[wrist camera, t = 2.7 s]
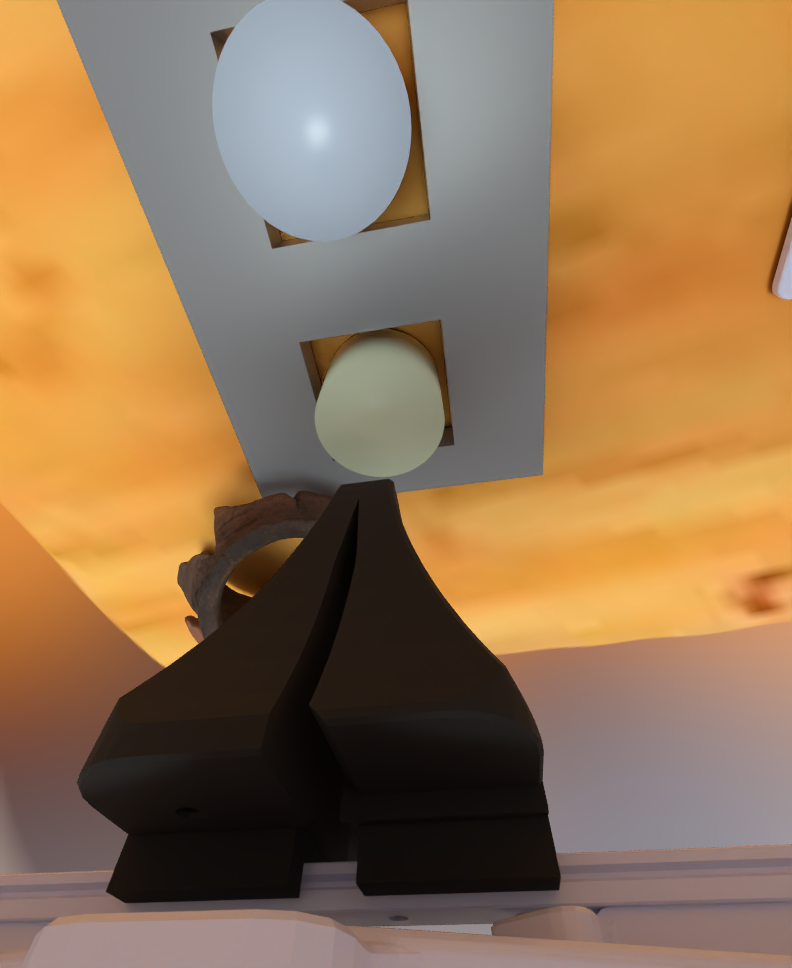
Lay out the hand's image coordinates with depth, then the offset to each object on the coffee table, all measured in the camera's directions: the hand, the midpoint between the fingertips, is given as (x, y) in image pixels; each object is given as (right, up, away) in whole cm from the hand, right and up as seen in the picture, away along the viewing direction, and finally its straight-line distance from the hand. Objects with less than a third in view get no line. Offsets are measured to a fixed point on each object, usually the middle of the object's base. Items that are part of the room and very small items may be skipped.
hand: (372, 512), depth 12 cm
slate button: (-1, +10, +1) cm, 11 cm away
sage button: (0, +5, +6) cm, 8 cm away
